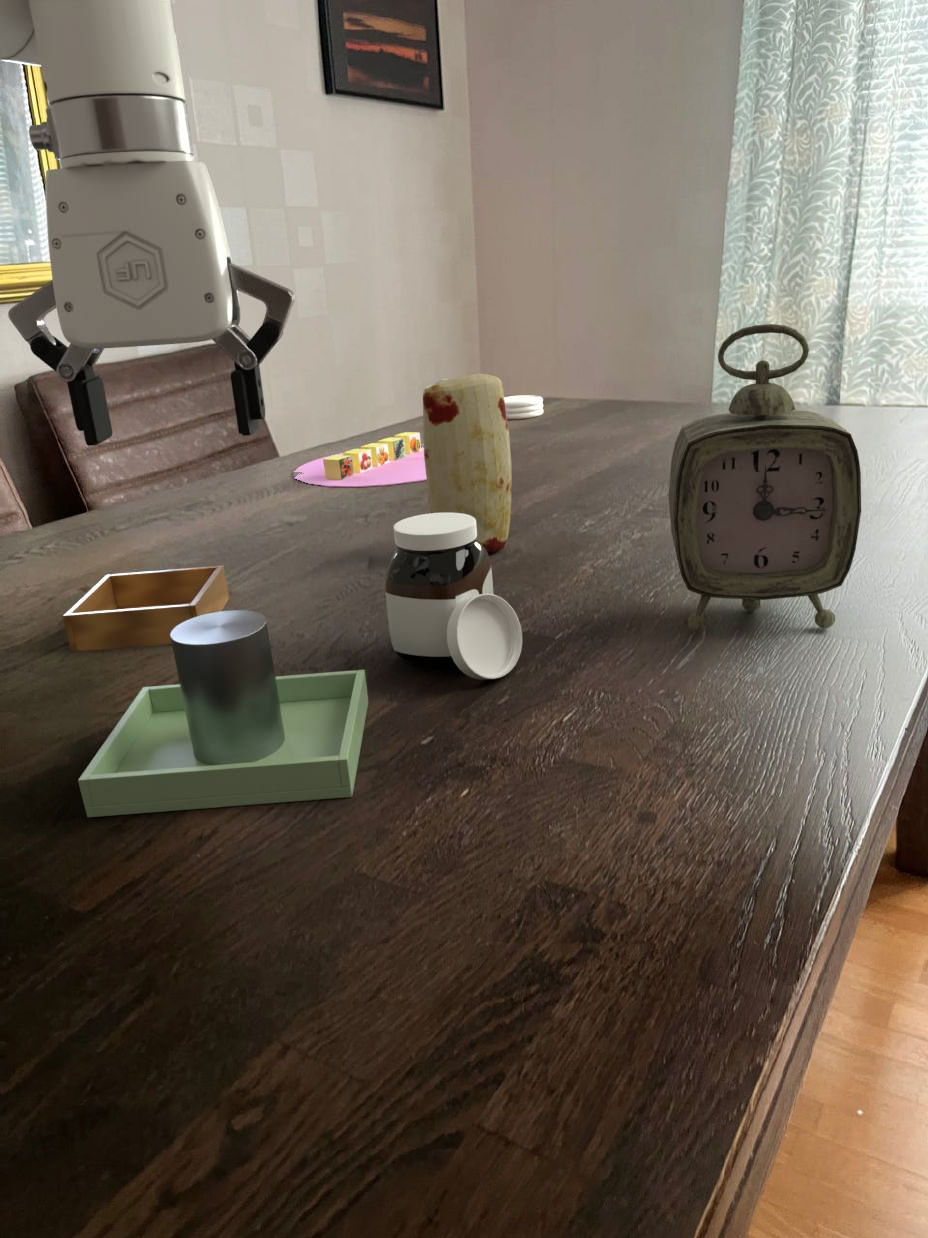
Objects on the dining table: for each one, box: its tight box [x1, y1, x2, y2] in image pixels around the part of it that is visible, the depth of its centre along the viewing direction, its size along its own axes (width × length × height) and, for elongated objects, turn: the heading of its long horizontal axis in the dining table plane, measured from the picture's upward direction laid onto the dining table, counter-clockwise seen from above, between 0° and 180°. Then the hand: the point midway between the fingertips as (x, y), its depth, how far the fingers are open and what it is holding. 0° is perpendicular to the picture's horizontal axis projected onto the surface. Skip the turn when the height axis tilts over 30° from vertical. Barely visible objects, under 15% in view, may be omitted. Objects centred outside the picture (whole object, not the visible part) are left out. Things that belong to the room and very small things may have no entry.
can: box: [170, 609, 285, 766], centre depth 67 cm, size 6×6×9 cm
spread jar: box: [384, 512, 523, 681], centre depth 80 cm, size 12×11×12 cm
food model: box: [422, 373, 513, 554], centre depth 107 cm, size 10×7×20 cm
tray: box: [77, 669, 369, 818], centre depth 68 cm, size 17×14×3 cm
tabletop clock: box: [668, 323, 862, 632], centre depth 81 cm, size 14×9×25 cm, turn 82°
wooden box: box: [62, 564, 230, 653], centre depth 94 cm, size 12×12×4 cm
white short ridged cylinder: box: [504, 394, 544, 420], centre depth 199 cm, size 10×10×4 cm
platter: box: [293, 431, 427, 488], centre depth 162 cm, size 32×32×3 cm
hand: (174, 436), depth 62 cm, fingers open, 9 cm apart
